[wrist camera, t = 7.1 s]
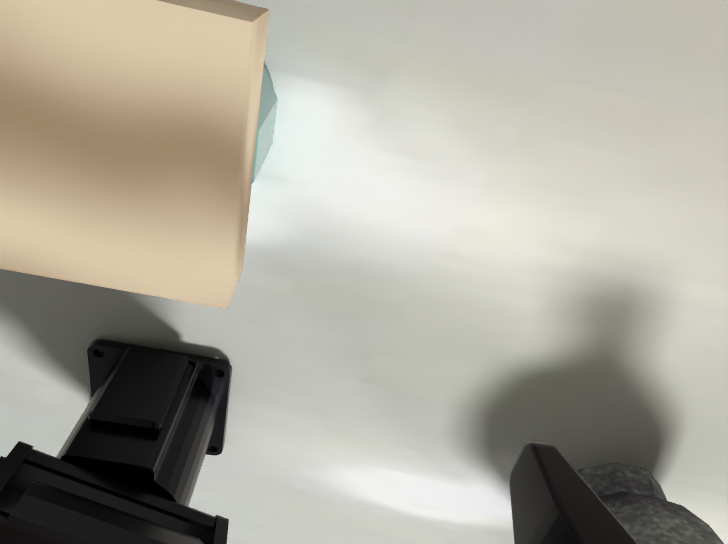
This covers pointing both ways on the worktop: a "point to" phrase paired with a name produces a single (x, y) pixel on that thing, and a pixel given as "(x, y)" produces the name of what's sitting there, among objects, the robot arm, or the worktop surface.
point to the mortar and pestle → (646, 507)
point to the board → (129, 142)
